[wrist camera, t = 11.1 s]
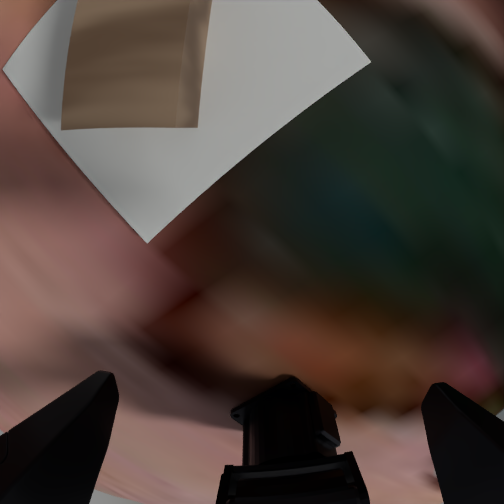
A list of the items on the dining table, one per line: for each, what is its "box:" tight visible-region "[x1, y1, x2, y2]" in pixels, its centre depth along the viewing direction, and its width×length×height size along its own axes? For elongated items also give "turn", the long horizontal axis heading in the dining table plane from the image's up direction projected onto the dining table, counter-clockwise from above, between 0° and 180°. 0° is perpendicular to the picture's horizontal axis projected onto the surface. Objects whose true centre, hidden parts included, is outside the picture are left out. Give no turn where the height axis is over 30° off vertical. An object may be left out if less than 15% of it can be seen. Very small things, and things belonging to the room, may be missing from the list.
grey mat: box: [3, 0, 371, 243], centre depth 14 cm, size 16×16×1 cm
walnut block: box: [61, 0, 212, 130], centre depth 11 cm, size 5×5×10 cm
